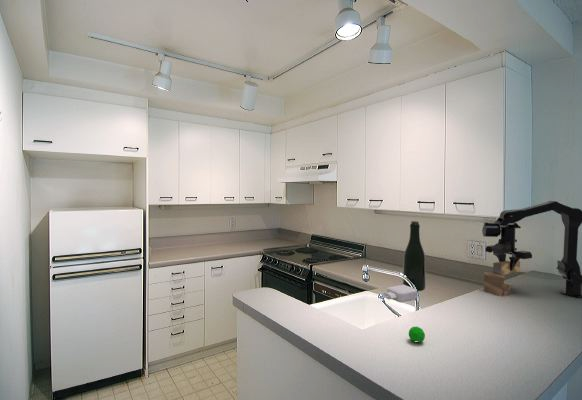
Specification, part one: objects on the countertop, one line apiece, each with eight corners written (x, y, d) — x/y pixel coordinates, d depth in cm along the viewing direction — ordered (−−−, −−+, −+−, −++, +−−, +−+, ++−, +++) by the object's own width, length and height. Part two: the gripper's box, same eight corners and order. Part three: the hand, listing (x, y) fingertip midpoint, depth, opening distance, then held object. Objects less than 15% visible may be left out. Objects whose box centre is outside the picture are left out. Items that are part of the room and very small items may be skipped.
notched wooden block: (491, 288, 159) (491, 270, 158) (510, 294, 151) (510, 275, 150) (482, 290, 156) (483, 272, 156) (501, 296, 148) (501, 277, 148)
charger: (376, 298, 147) (402, 293, 154) (390, 305, 139) (417, 300, 145) (376, 288, 147) (402, 283, 153) (390, 294, 139) (417, 289, 145)
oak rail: (512, 269, 160) (512, 259, 160) (519, 271, 157) (519, 261, 157) (493, 273, 154) (493, 262, 154) (500, 275, 151) (500, 264, 151)
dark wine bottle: (415, 283, 167) (416, 219, 165) (430, 290, 157) (431, 222, 155) (398, 286, 164) (399, 220, 162) (412, 292, 154) (412, 223, 152)
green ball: (405, 339, 109) (405, 325, 109) (416, 336, 111) (416, 323, 110) (416, 346, 104) (416, 332, 104) (428, 343, 106) (428, 329, 106)
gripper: (478, 235, 160) (477, 267, 161) (517, 241, 143) (516, 277, 144) (493, 233, 165) (492, 264, 166) (533, 239, 148) (532, 273, 149)
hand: (507, 269), depth 156 cm, fingers closed on oak rail, 3 cm apart
